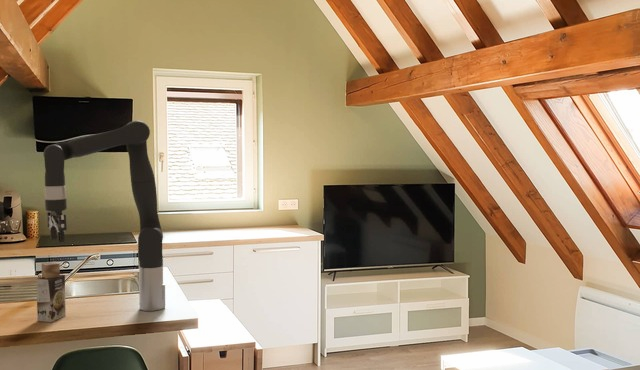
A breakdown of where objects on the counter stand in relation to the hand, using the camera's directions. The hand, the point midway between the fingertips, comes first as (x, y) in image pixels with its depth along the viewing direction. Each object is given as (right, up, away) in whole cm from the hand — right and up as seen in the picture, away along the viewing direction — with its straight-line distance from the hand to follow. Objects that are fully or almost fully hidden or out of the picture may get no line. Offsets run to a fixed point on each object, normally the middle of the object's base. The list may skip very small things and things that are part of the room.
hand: (57, 240), depth 246 cm
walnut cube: (-2, -13, -1) cm, 14 cm away
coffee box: (-2, -30, 0) cm, 30 cm away
